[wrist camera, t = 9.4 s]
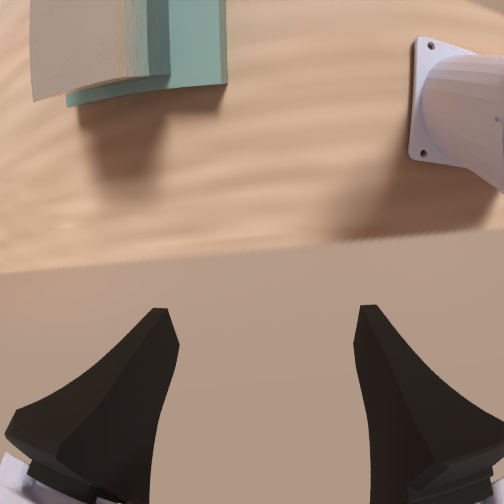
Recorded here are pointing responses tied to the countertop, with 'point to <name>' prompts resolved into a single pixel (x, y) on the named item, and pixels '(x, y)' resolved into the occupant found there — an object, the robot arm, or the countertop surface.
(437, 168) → the countertop surface
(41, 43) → the block
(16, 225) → the countertop surface
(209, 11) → the stand
